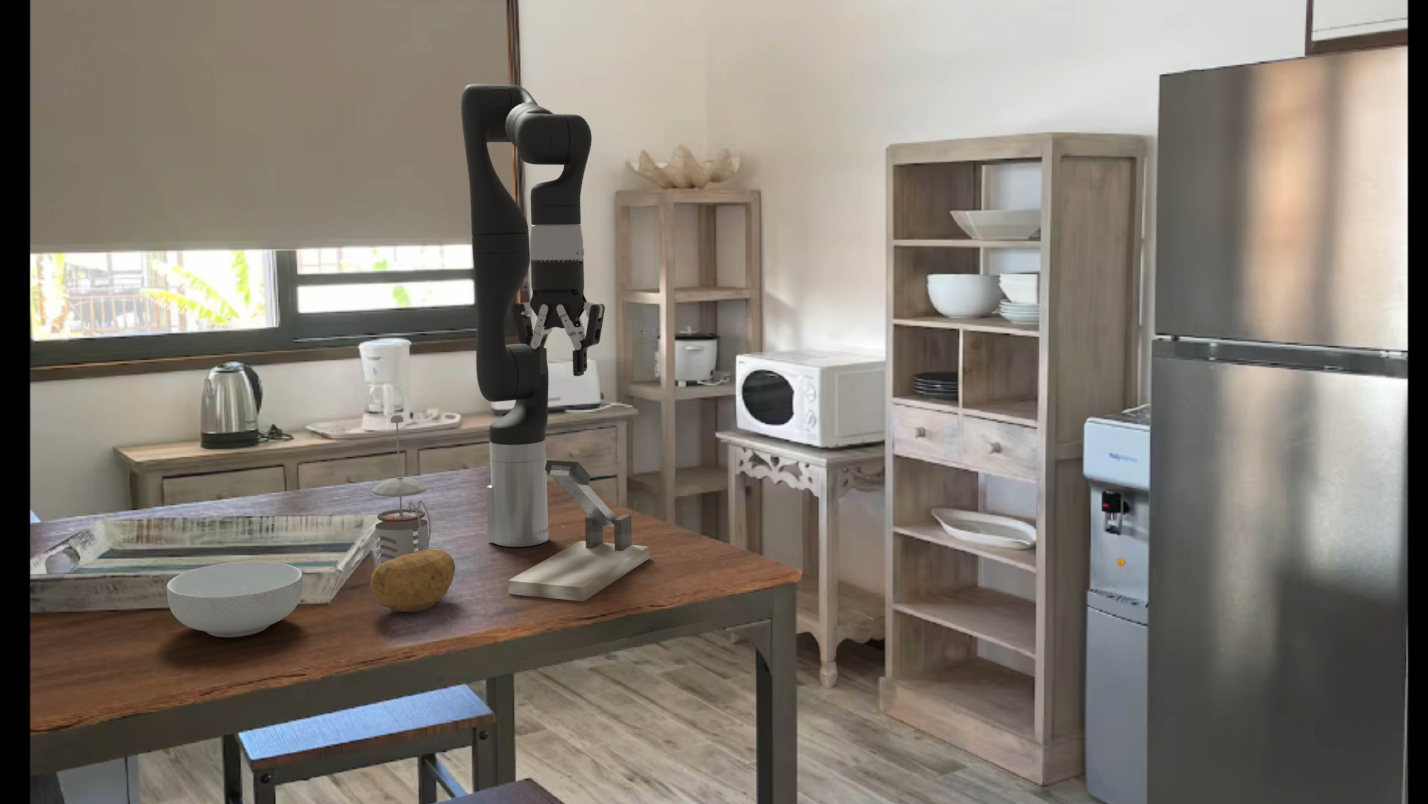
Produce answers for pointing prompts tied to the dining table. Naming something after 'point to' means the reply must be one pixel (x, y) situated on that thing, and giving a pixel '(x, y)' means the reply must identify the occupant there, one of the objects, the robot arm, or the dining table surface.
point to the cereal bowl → (235, 596)
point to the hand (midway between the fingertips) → (560, 374)
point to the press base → (583, 565)
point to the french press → (401, 516)
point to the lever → (580, 490)
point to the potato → (413, 580)
